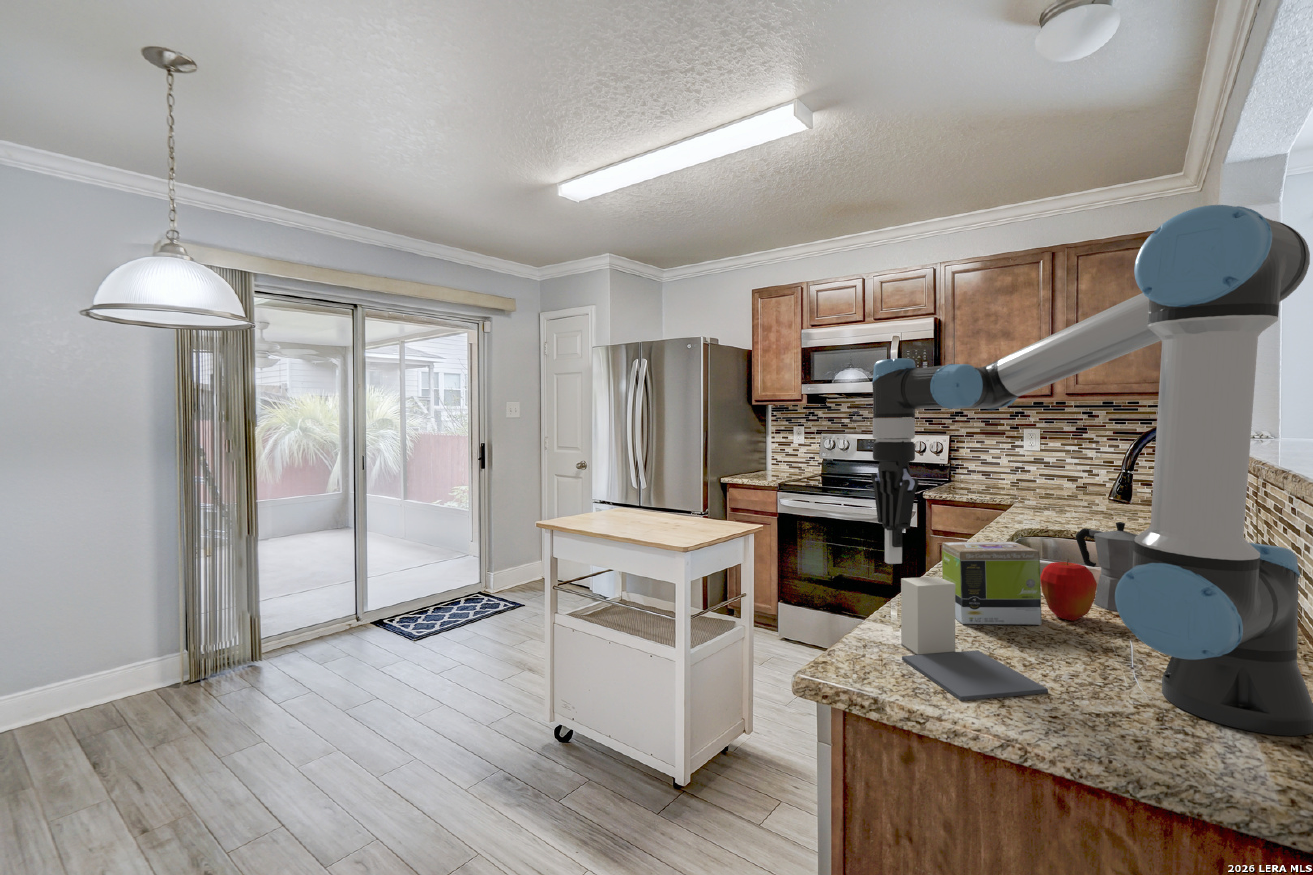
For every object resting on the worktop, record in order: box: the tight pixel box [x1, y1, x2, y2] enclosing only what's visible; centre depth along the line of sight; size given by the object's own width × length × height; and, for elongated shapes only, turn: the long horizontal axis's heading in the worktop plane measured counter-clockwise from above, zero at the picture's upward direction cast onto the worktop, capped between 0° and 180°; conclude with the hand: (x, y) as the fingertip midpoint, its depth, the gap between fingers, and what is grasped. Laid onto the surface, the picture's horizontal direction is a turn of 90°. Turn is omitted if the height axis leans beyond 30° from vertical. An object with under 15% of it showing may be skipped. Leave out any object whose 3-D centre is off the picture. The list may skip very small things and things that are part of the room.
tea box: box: [941, 541, 1043, 626], centre depth 120 cm, size 15×10×15 cm
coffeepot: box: [1075, 521, 1138, 613], centre depth 126 cm, size 15×9×18 cm, turn 25°
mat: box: [901, 649, 1049, 702], centre depth 93 cm, size 15×14×1 cm
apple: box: [1040, 559, 1098, 621], centre depth 119 cm, size 9×9×12 cm
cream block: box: [900, 576, 956, 655], centre depth 104 cm, size 5×7×12 cm
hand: (893, 562), depth 114 cm, fingers closed
